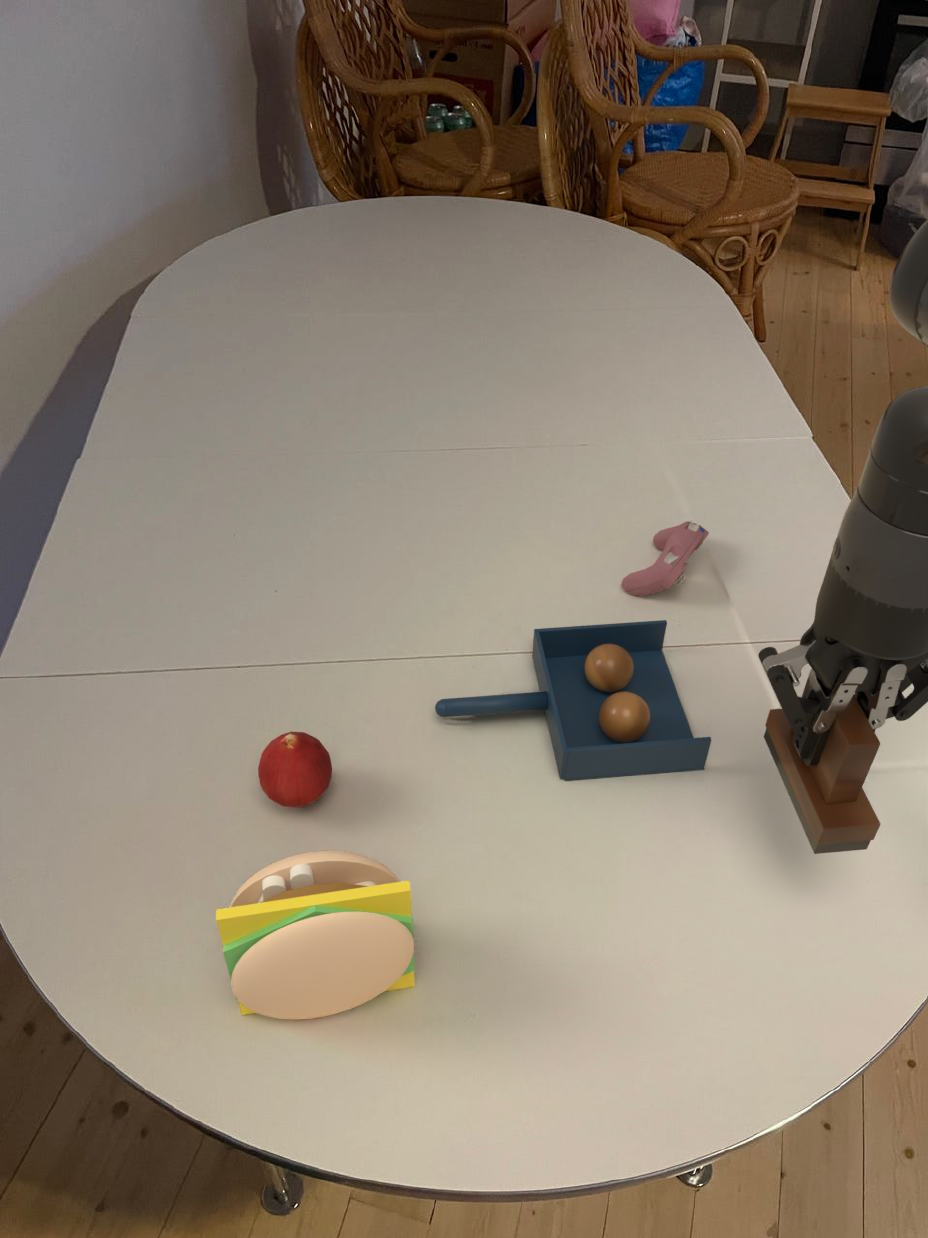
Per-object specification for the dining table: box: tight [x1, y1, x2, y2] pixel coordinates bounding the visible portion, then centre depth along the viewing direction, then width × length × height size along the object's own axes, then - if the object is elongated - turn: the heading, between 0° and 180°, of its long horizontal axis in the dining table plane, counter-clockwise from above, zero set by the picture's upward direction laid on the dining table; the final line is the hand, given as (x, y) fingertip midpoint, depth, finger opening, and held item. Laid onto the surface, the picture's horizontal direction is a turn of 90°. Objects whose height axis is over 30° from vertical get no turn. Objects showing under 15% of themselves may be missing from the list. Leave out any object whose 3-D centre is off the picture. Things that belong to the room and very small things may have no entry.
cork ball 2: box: [599, 692, 651, 743], centre depth 89 cm, size 4×4×4 cm
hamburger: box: [215, 850, 416, 1021], centre depth 70 cm, size 12×8×12 cm
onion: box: [257, 731, 333, 808], centre depth 83 cm, size 6×6×8 cm
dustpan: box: [434, 619, 712, 782], centre depth 91 cm, size 22×15×4 cm
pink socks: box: [621, 520, 709, 596], centre depth 105 cm, size 10×5×7 cm, turn 150°
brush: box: [763, 675, 881, 855], centre depth 73 cm, size 4×11×9 cm, turn 6°
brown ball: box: [584, 644, 634, 692], centre depth 94 cm, size 4×4×4 cm
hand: (826, 754), depth 73 cm, fingers closed on brush, 2 cm apart
